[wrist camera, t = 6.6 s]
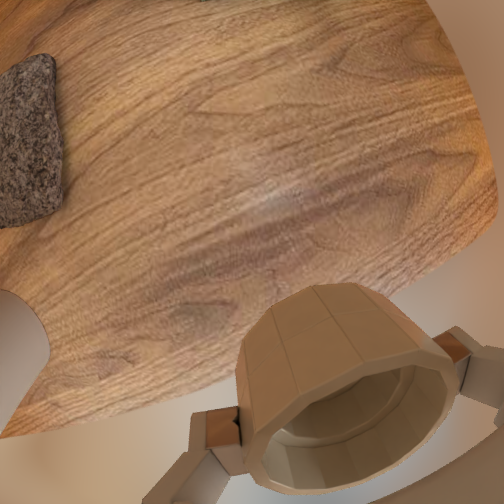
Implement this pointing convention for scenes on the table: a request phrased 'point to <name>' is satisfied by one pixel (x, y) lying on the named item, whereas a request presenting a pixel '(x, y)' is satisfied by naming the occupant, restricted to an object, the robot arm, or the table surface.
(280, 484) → the small bowl
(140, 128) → the table surface
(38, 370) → the taupe round pillar
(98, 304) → the table surface
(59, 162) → the stone
